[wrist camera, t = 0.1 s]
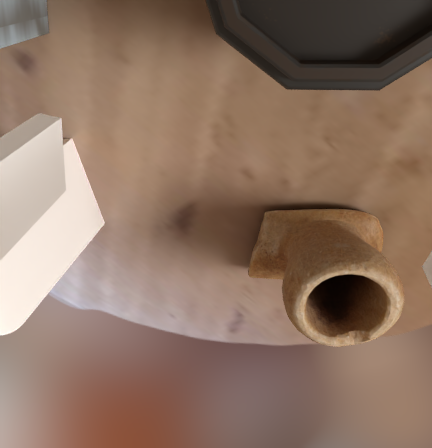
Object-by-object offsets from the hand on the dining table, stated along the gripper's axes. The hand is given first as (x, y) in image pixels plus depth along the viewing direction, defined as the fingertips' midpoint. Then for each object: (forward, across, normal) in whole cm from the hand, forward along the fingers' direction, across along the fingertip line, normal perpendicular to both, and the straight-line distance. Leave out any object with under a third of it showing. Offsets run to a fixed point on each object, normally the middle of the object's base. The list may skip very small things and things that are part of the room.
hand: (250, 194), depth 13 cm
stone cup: (+28, +10, -19) cm, 35 cm away
